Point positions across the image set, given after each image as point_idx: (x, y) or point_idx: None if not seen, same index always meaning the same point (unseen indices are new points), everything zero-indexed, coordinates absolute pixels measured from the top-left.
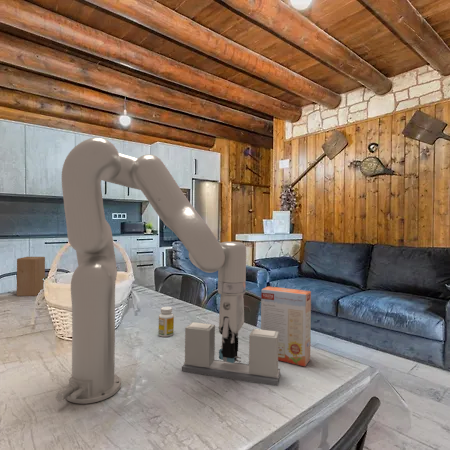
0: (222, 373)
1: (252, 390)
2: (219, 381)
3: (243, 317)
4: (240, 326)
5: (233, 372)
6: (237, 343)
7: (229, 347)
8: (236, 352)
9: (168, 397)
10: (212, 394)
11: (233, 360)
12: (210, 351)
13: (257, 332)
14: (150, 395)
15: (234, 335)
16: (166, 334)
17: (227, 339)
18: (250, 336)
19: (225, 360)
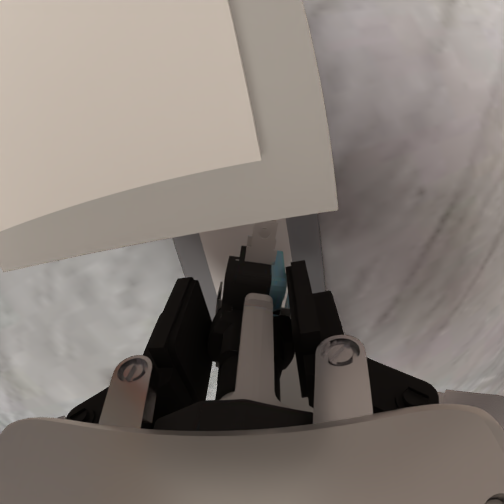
0: (322, 266)
1: (373, 80)
2: (357, 252)
3: (7, 489)
4: (227, 474)
5: (294, 220)
6: (176, 316)
7: (342, 334)
8: (240, 273)
9: (477, 334)
10: (453, 234)
11: (281, 256)
12: (293, 393)
13: (122, 76)
14: (468, 369)
15: (234, 395)
16: None
17: (446, 392)
18: (330, 178)
19: (288, 298)
